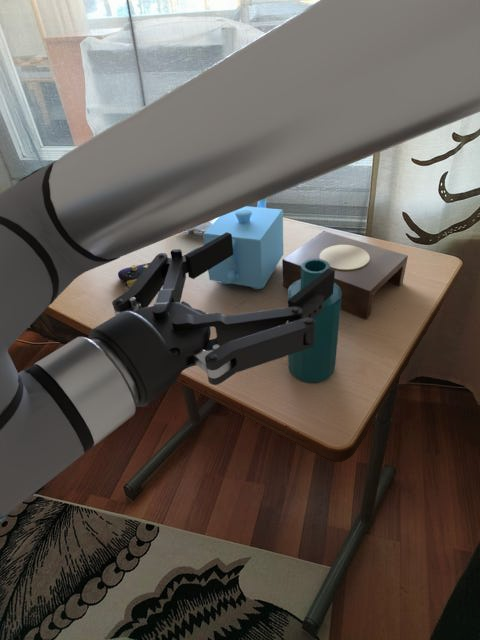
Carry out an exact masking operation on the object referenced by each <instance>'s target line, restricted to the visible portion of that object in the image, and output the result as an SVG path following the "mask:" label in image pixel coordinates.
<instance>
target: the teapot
mask: <svg viewBox="0 0 480 640" xmlns="http://www.w3.org/2000/svg"><path fill="white" fill-rule="evenodd" d="M267 201H268V198H265V199H263V200H260V201H258V202H257V205H256V206H250V205H248V206H245V207H243V208H240V209H238V210H235V211H233V212H231V213H228V214H226V215H223V216H221V217H219V218H218V219H217V220H216V221H215V222H214V223H213V224H212V225H211V226H210V227H209V228H208V229H207V230H206V231H205V232H203V233H202V237H203V243H204V245H205V244H207V243H208V242H210V241H212V240H214V239H216V238H217V237H219V236H221V235H223V234H224V233H226V232H228V233H230V234H232V244H233V255H232V256H230V257H229V258H227V259H226V260H224V261H222V262H221V263H219V264H217V265H216V266H214V267H212V268H211V269H209V270H208V271H207V272H208V279H209V281H214V282H219V283H221V284H223V285H230V284H233V285H238V286H245V287H251V288H252V289H254V290H261V289H264V288H265V287H266V284H267V283H268V281H269V279H270V278H271V276H272V274H273V273H274V271H275V270H276V268H277V266H278V264H279V263H280V261H281V259H283V256H284V210H283V209H282V208H270V207H269V208H268V207H267Z"/></svg>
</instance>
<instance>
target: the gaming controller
mask: <svg viewBox="0 0 480 640" xmlns="http://www.w3.org/2000/svg"><path fill="white" fill-rule="evenodd" d="M150 263H151V262H147V263H142V264H138V265H136V264H133V265H131V266H129V267H125V268H122V269H120V270H119V271H118V272H117V277H118V279H119V280H120V281H121V282H122V283H124V284H125V285H126V286H127V287H128V289H130V287H131V286H132V285H133V284H134V282H135V281H136V280H137V279H138V278H139V276H140V275H141V274H142V273H143V271H144V270H145V269H146V268H147V267H148V265H149V264H150Z"/></svg>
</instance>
